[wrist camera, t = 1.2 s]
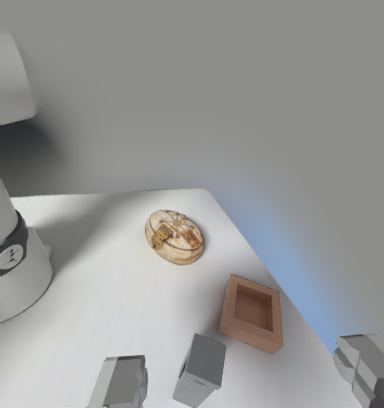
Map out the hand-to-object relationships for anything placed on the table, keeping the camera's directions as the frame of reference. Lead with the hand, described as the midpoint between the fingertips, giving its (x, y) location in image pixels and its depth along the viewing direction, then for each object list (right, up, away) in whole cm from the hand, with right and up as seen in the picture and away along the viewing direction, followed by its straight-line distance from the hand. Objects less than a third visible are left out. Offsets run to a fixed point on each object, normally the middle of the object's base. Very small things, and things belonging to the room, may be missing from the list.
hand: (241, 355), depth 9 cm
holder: (+9, -16, +32) cm, 36 cm away
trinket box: (-7, -4, +43) cm, 44 cm away
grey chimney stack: (-3, -21, +21) cm, 30 cm away
